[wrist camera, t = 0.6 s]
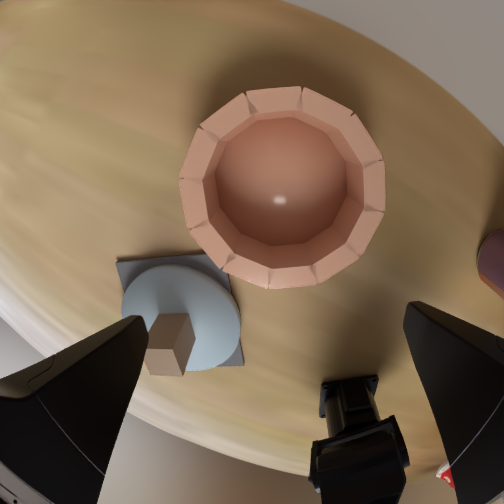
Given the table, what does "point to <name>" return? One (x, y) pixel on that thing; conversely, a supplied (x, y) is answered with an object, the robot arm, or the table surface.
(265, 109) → the bowl
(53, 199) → the table surface
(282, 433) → the table surface
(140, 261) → the mat
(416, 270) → the table surface
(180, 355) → the lid
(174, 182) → the table surface
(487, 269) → the purple rectangular block
